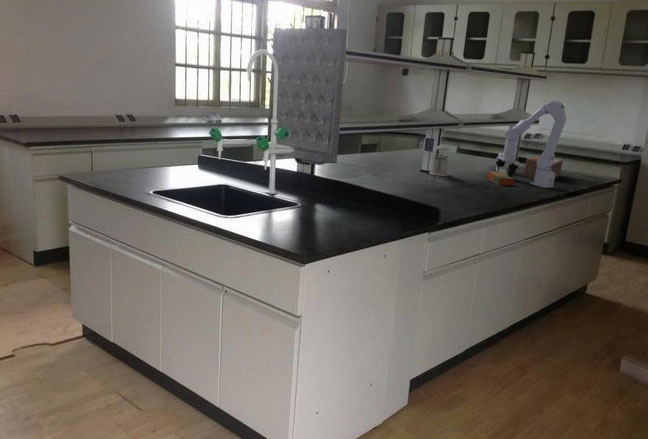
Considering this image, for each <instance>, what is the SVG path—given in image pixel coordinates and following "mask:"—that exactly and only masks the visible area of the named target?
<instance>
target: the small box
mask: <svg viewBox="0 0 648 439" xmlns="http://www.w3.org/2000/svg"><path fill="white" fill-rule="evenodd" d="M503 153H504V152H499V153H498V156H497V157H503ZM507 162H508V161H507ZM507 162H506V163H505V165H504V166H507V167H509V164H511V163H507ZM495 171H496V172H498V168H497V166H496V168H495Z"/></svg>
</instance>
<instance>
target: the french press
mask: <svg viewBox="0 0 648 439" xmlns="http://www.w3.org/2000/svg"><path fill="white" fill-rule="evenodd" d="M445 135H446V132H444V135H443V137H445ZM442 140H443V141H442V144H441V145H436V146H434V149H435V150H438V151H439V152H438V154H434V157H433V159H432V160H433V161H432V166H431V171H429V172H428V173H429V174H430V175H434V176H437V177H438V176H440V177H441V176H442V177H447V176H448V173H447V172H448V171H447V170H448V162H449V159H448V156H447V155H444V152H443V151H446V152H449V151H451V149H450V148H449V147H448V146H446V145H444V142H445V139H442ZM440 151H442V152H440Z"/></svg>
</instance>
